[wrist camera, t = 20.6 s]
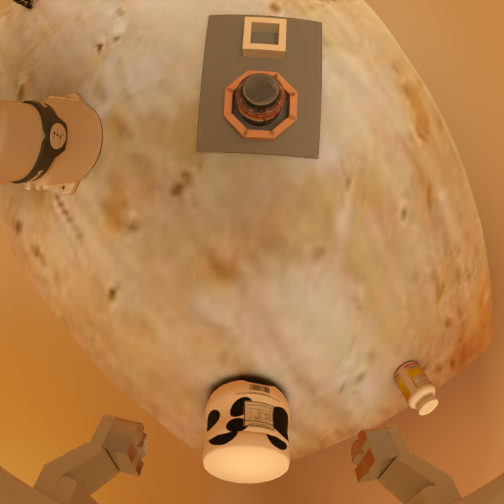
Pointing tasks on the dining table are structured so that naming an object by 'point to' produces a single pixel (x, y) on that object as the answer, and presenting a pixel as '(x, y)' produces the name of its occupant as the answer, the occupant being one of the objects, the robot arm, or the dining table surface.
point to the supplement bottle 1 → (260, 98)
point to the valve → (23, 3)
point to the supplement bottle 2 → (416, 387)
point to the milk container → (247, 432)
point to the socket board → (269, 62)
